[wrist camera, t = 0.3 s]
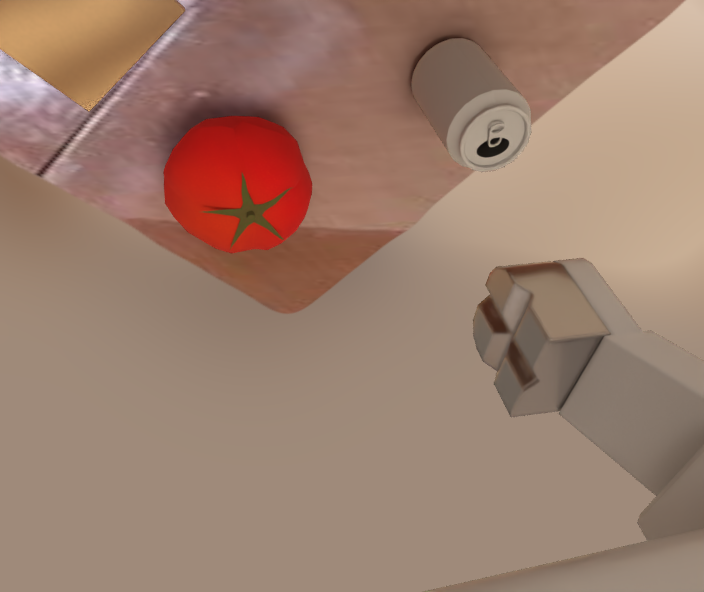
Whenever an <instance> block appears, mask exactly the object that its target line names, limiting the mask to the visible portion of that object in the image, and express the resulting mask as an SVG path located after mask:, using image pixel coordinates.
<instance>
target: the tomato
mask: <svg viewBox="0 0 704 592" xmlns="http://www.w3.org/2000/svg"><path fill="white" fill-rule="evenodd" d="M164 192H165V204H166V205H167V207H168V209H169V210H170V212H171V213H172V215H173V216H174V218H175V219H176V220H177V221H178V222H179V223H180V224H181V225H182V226H183V228H184V229H185V230H186V231H187V232H189V233H190V234H192V235H194V236H195V237H197V238H199V239H200V240H202V241H204V242H206V243H207V244H209V245H211V246H212V247H214V248H216V249H219V250H222V251H226V252H229V253H236V252H241V251H246V250H251V249H262V250H268V249H270V248H272V247H275V246H277V245H279V244H281V243H282V242H283V241H285V240H286V239H287V238H288V237H289V236H291V235H292V234H293V233H294V232H295V231H296V230H297V228H298V227H299V225H300V224H301V222H302V221H303V219H304V217H305V215H306V212H307V209H308V206H309V202H310V198H311V195H312V181H311V178H310V175H309V172H308V170H307V168H306V166H305V164H304V161H303V158H302V155H301V152H300V149H299V146H298V143H297V141H296V140H295V139H294V138H293V137H292V136H291V135H290V134H289V132H288V131H287V130H286V129H285V128H284V127H282V126H280V125H278V124H276V123H273V122H270V121H268V120H265V119H262V118H260V117H249V116H227V117H219V118H211V119H205V120H204V121H202V122H201V123H199V124H197V125H196V126H194V127H192V128H191V129H190V130H189V131H188V132H187V133H186V134H185V135H184V137H183V138H182V139H181V140H180V141H179V143H178V144H177V145H176V146H175V147H174V148H173V150H172V152H171V155H170V157H169V159H168V161H167V163H166V165H165V169H164Z"/></svg>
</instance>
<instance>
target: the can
mask: <svg viewBox="0 0 704 592" xmlns="http://www.w3.org/2000/svg"><path fill="white" fill-rule="evenodd" d="M411 87H412V93H413V97H414V98H415V100H416V102H417V103H418V105H419V106H420V108H421V110H422V111H423V113H424V114H425V116H426V117H427V119H428V121H429V122H430V124H431V125H432V127H433V129H434V130H435V132H436V133H437V135H438V136H439V138H440V140H441V141H442V143H443V144H444V146H445V147H446V149H447V151H448V152H449V154H450V155H451V157H452V158H453V160H454V161H455V162H457V163H458V164H460V165H461V166H463V167H468V168H471V169H472V170H475V171H480V172H488V171H494V170H497V169H500V168H502V167H505V166H506V165H508V164H509V163H511V162H512V161H514V160H515V159H516V158H517V157H518V156H519V155H520V154H521V153H522V152H523V150H524V148H525V147H526V145H527V144H528V141H529V138H530V135H531V110H530V108H529V105H528V103H527V101H526V99H525V98H524V97H523V96H522V95H521V93H520V92H519V91H518V90H517V89H516V88H515V87H514V85H513V84H512V83H511V82H510V81H509V80H508V78H507V77H506V76H505V75H504V74H503V73H502V71H501V70H500V69H499V68H498V67H497V66H496V65H495V63H494V62H493V61H492V60H491V59H490V58H489V56H488V55H487V54H486V53H485V52H484V51H483V49H482V48H480V47H479V46H478V45H477V44H476V43H475V42H473V41H470V40H467V39H464V38H456V39H449V40H446V41H443V42H440V43H438V44H437V45H435V46H434V47H432V48H431V49H430V50H428V51H427V52H426V53H425V54H424V56H423V57H422V58H421V59H420V60H419V62H418V64H417V66H416V68H415V70H414V72H413V77H412V84H411Z"/></svg>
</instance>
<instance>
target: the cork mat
mask: <svg viewBox="0 0 704 592" xmlns="http://www.w3.org/2000/svg"><path fill="white" fill-rule="evenodd" d="M184 12H185V8H184V7H183V6H182V5H181V4H180V3H179V2H178V1H177V0H0V49H1V50H2V51H4V52H5V53H7V54H8V55H10V56H11V57H12V58H14V59H15V60H17V61H18V62H19V63H21V64H22V65H24V66H25V67H27V68H28V69H29V70H31V71H32V72H34V73H35V74H36V75H38V76H39V77H41V78H42V79H44V80H45V81H46V82H48V83H49V84H51V85H52V86H53V87H55V88H56V89H58V90H59V91H61V92H62V93H63V94H65V95H66V96H68V97H69V98H70V99H72V100H73V101H75V102H76V103H78V104H79V105H80V106H82V107H83V108H85V109H86V110H87V111H90V110H91V109H92V108H93V107H94V106H95V105H96V104H97V103H98V102H99V101H100V100H101V99H102V98H103V97H104V96H105V95H106V93H107V92H108V91H109V90H110V89H111V88H112V87H113V86H114V85H115V84H116V83H117V82H118V81H119V80H120V79H121V78H122V77H123V76H124V75H125V74H126V72H127V71H128V70H129V69H130V68H131V67H132V66H133V65H134V64H135V63H136V62H137V61H138V60H139V59H140V58H141V57H142V56H143V55H144V54H145V52H146V51H147V50H148V49H149V48H150V47H151V46H152V45H153V44H154V43H155V42H156V41H157V40H158V39H159V38H160V37H161V36H162V35H163V34H164V33H165V31H166V30H167V29H168V28H169V27H170V26H171V25H172V24H173V23H174V22H175V21H176V20H177V19H178V18H179V17H180V16H181V15H182V14H183V13H184Z"/></svg>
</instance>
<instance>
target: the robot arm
mask: <svg viewBox="0 0 704 592" xmlns="http://www.w3.org/2000/svg"><path fill="white" fill-rule="evenodd" d="M486 287H487V289H488V291H489V293H490V295H489V296H488V297H486V298H485V300H483V301H482V302H481V303H480V304H479V305H478V306H477V310H476V313H475V316H474V319H473V336H474V340H475V344H476V348H477V350H478V352H479V354H480V356H481V358H482V361H483V362H485V363H486V364H487V365H489V366H491V367H492V368H493V369H495V370H496V371H497V373H496V377H495V381H494V385H495V387H496V389H497V391H498V393H499V395H500V397H501V399H502V401H503V403H504V405H505V407H506V408H507V410H508V413H509V415H510V417H517V416H525V415H532V414H540V413H548V412H555V411H560V412H559V415H561V416H562V417H563V418H564V419H566V420H567V421H568V422H569V423H570V424H571V425H573V426H574V427H575V428H576V429H577V430H579V431H580V432H581V433H582V434H583V435H585V436H586V437H587V438H588V439H589V440H590V441H592V442H593V443H594V444H595V445H596V446H597V447H599V448H600V449H601V450H602V451H603V452H605V453H606V454H607V455H608V456H609V457H611V458H612V459H613V460H614V461H615V462H617V463H618V464H619V465H620V466H621V467H622V468H624V469H625V470H626V471H627V472H628V473H630V474H631V475H632V476H633V477H634V478H636V479H637V480H638V481H639V482H640V483H641V484H643V485H644V486H645V487H646V488H647V489H649V490H650V491H651V492H652V493H653V494H655V495H656V497H655V498H654V499H653V501H652V502H651V503H650V504H649V505H648V506H647V507H646V508H645V509H644V511H643V512H642V513H641V514H640V516H639V519H638V522H637V523H638V525H639V527H640V528H641V530H642V532H643V534H644V535H645V537H646V539H647V541H645V542H640V543H636V544H632V545H627V546H623V547H618V548H614V549H610V550H605V551H601V552H596V553H592V554H587V555H583V556H578V557H574V558H570V559H565V560H561V561H556V562H552V563H547V564H543V565H539V566H535V567H530V568H525V569H521V570H517V571H512V572H508V573H503V574H499V575H494V576H490V577H486V578H482V579H477V580H472V581H468V582H464V583H459V584H455V585H450V586H446V587H441V588H437V589H433V590H428V591H424V592H704V360H702V359H700V358H698V357H697V356H695V355H693V354H691V353H689V352H688V351H686V350H684V349H683V348H681V347H679V346H677V345H676V344H674V343H672V342H671V341H669V340H667V339H665V338H664V337H662V336H660V335H658V334H657V333H655V332H653V331H651V330H650V331H642V330H641V328H640V327H639V326H638V324H637V323H636V322H635V320H634V319H633V318H632V316H631V315H630V314H629V312H628V311H627V310H626V308H625V307H624V306H623V304H622V303H621V302H620V300H619V299H618V298H617V296H616V295H615V294H614V292H613V291H612V290H611V288H610V287H609V286H608V284H607V283H606V282H605V280H604V279H603V277H602V276H601V275H600V273H599V272H598V271H597V269H596V268H595V267H594V265H593V264H592V263H591V262H589V261H587V260H586V259H584V258H577V259H568V260H558V261H553V262H551V261H548V262H538V263H528V264H518V265H508V266H498V267H496V268H495V269H494V270H493V271H492V272H491V273H490V274H489V277H488V279H487V282H486Z"/></svg>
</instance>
